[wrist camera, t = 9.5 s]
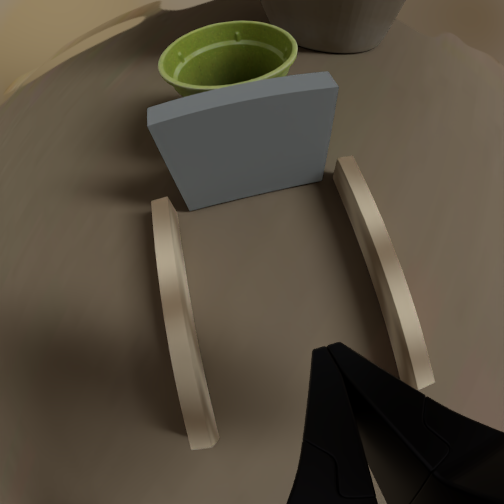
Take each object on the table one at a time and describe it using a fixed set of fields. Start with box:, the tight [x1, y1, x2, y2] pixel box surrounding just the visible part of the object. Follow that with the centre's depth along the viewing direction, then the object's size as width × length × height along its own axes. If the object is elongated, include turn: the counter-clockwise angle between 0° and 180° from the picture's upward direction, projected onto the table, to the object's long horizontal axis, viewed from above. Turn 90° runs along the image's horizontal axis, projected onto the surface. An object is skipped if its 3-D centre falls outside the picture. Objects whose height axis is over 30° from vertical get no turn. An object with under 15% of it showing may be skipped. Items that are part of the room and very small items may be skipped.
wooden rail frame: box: [151, 155, 435, 450], centre depth 19 cm, size 16×14×2 cm
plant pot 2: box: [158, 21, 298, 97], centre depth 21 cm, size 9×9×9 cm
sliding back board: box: [147, 72, 339, 211], centre depth 19 cm, size 4×10×9 cm, turn 103°
